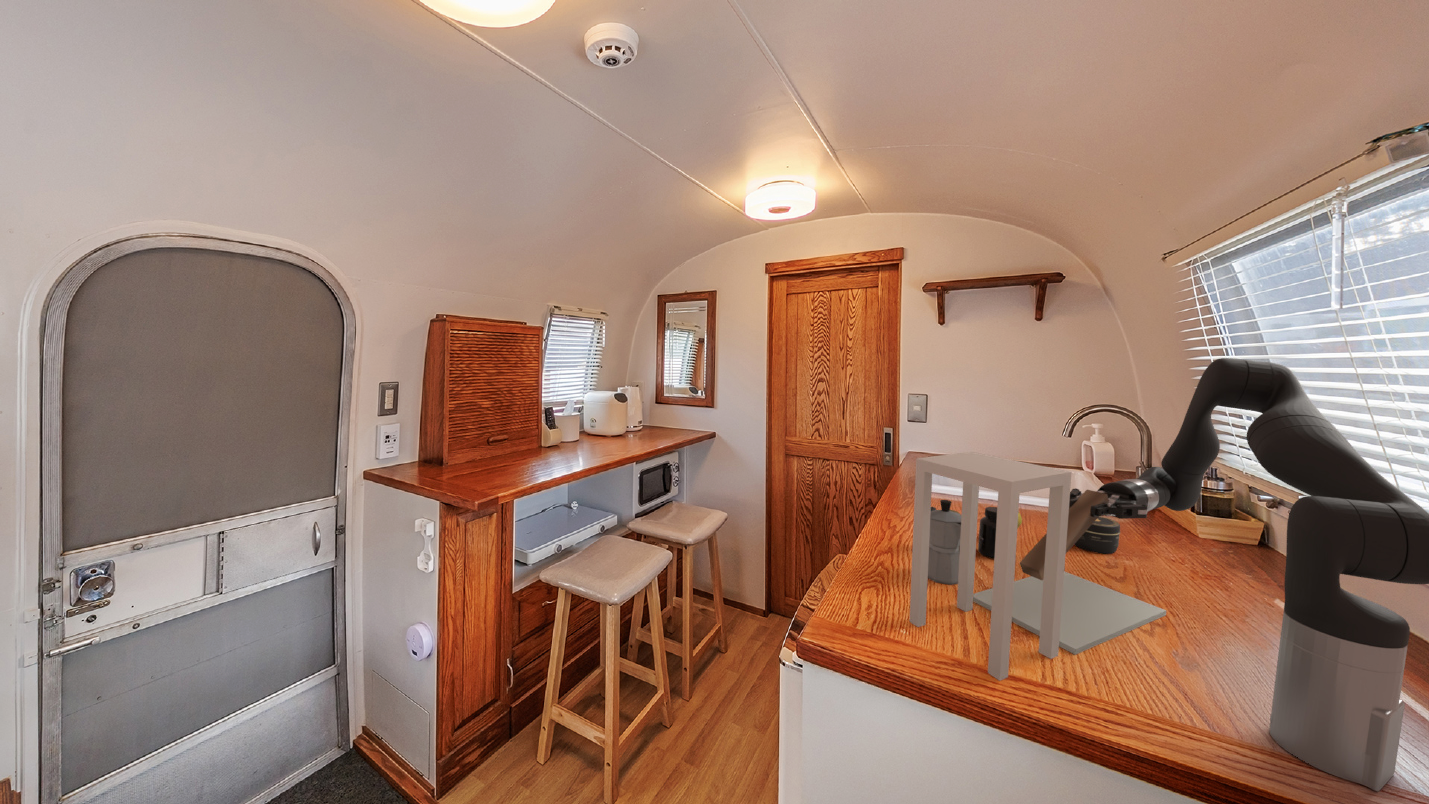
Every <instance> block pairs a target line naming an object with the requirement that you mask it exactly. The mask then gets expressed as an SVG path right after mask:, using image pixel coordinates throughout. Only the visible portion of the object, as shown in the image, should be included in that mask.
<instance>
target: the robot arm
mask: <svg viewBox="0 0 1429 804" xmlns="http://www.w3.org/2000/svg"><path fill="white" fill-rule="evenodd" d="M1192 395H1193V396H1192V398H1191V400H1190V402H1189V406H1188V407H1187V411H1186V413H1185V414H1184V415H1185V416H1184V418H1183V422H1182V424H1181V426H1180V429H1179V431H1178V434H1177V435H1176V438H1175V439H1174V441H1173V442H1172V444H1171V445H1170V447H1169V448H1168V450H1167V451H1166V453H1165V454H1164V456H1163V458H1162V459H1161V462H1160V465H1161V466H1151V467H1149V468H1147V469H1146V470H1144V471H1143V472H1142V473H1141V474H1140V475H1139V477H1136V478H1129V479H1128V478H1127V479H1121V480H1116V481H1113V482H1108V483H1105V484H1103V485H1101V486H1100V487H1099V488H1098V489H1097V490H1095V491H1096V492H1100V493H1104V494H1107V496H1108V499H1109V501H1108V502H1105V503H1104V504H1098V505H1093V506H1091V509H1090V512H1091V516H1092V517H1099V516H1101V517H1105V516H1106V517H1112V518H1113V517H1115V518H1117V519H1120V520H1121V519H1147V517H1148V516H1147V515H1148V512H1150V511H1152V510H1155V509H1159V508H1162V507H1166V508H1168V509H1169V510H1171V511H1174V512H1175V511H1176V512H1182V511H1186V510H1189V509H1191V508H1192V507H1194V506H1195V505H1196V504H1197V503H1198V500H1199V498H1200V496H1201V493H1202V485H1203V480H1204V476H1205V473H1206V472H1207V471H1208V470H1209V468H1210V467H1211V465H1212V464H1213V463H1214V462H1215V460H1216V459H1217V457H1218V455H1219V452H1220V447H1221V445H1220V440H1219V437H1218V434H1217V431H1216V429H1215V427H1214V423H1213V419H1212V413H1213V412H1214V410H1215V408H1216V407H1225V408H1231V409H1237V410H1238V409H1239V410H1245V411H1250V412H1251V411H1253V412H1258V413H1260V415H1259V416H1257V418H1255V419H1254V420H1253V421H1252V423H1251V424H1249V426H1248V429H1247V431H1246V436H1245V437H1246V441H1247V445H1248V447H1249V449H1250V450H1251V452H1252V453H1253V455H1254V456H1255V458H1256V460H1257V461H1258V462H1259V464H1260V466H1261V467H1262V468H1263V469H1264V470H1265V471H1266V472H1267V473H1268V474H1270V475H1271V476H1272V477H1273V478H1276V479H1277V480H1280V481H1281V482H1282V483H1284V484H1285V485H1287V486H1290V487H1292V488H1294V489H1296V490H1297V491H1300V492H1303V493H1305V494H1306V496H1302V497H1301V498H1299V499H1298V500H1296V501H1295V502H1294V504H1292V506H1291V508H1290V509H1289V510H1290V511H1289V514H1288V518H1287V523H1286V525H1287V526H1286V549H1285V550H1286V554H1285V569H1284V570H1285V572H1284V583H1283V584H1284V605H1283V606H1284V607H1283V614H1282V623H1281V628H1280V629H1281V630H1280V637H1279V638H1280V640H1279V645H1278V646H1279V647H1278V648H1279V649H1278V655H1277V663H1276V664H1277V665H1276V671H1275V677H1274V679H1275V680H1274V686H1273V687H1274V688H1273V694H1272V703H1271V713H1270V716H1269V717H1270V718H1269V720H1270V721H1269V729H1268V730H1269V734H1270V736H1271V738H1272V739H1273V740H1274V741H1275V742H1276V744H1278V745H1279V746H1280V747H1281V748H1283V750H1284V751H1287V752H1289V753H1290V754H1291V755H1292V754H1293V756H1294V757H1295V756H1296V758H1297V757H1298V758H1297V759H1299V760H1300V761H1302V760H1304V761H1305V762H1304V761H1303V762H1304V763H1306V764H1308V763H1309V764H1308V765H1311V766H1312V767H1314V768H1316V769H1317V770H1320V771H1322V772H1324V773H1327V774H1330V775H1333V776H1335V777H1338V778H1341V779H1343V780H1346V781H1349V782H1353V783H1357V784H1360V785H1363V786H1365V787H1368V788H1369V789H1371V790H1373V791H1375V792H1380V791H1381V790H1382V789H1383V787H1384V786H1385V785H1386V784H1387V783H1388V782H1389V780H1390V779H1391V778H1392V777H1393V776H1394V775H1395V772H1396V771H1395V770H1396V767H1397V759H1398V752H1399V747H1400V746H1399V745H1400V740H1401V739H1400V737H1401V732H1402V725H1403V718H1404V713H1405V705H1406V704H1405V703H1406V702H1405V701H1404V700H1402V699H1401V693H1402V686H1403V679H1404V671H1405V665H1406V660H1407V659H1406V658H1407V653H1408V647H1409V646H1408V645H1409V641H1410V634H1411V632H1410V631H1411V629H1410V626H1409V622H1408V621H1407V620H1406V618H1404V617H1403V616H1402V615H1400V614H1399V613H1397V612H1396V611H1393V610H1391V609H1390V608H1388V607H1385V606H1383V605H1381V604H1379V603H1376V602H1374V601H1372V600H1370V599H1367V598H1364V597H1362V596H1359V595H1357V594H1355V593H1351V592H1349V591H1348V590H1345V589H1344V588H1342V587H1341V583H1340V582H1341V579H1340V576H1341V575H1344V576H1345V575H1346V576H1351V577H1358V578H1365V579H1369V580H1370V579H1371V580H1376V581H1381V582H1383V581H1384V582H1388V583H1389V582H1390V583H1397V584H1406V585H1429V512H1428V511H1427V510H1425V509H1424V508H1423V507H1422V506H1421V505H1420V504H1418V503H1417V502H1416V501H1414V499H1411V497H1409V496H1408V495H1407V494H1405V493H1404V492H1403V491H1401V490H1400V489H1399V488H1398V487H1396V486H1395V485H1394V484H1393V483H1391V482H1390V481H1388V480H1387V479H1386V478H1385V477H1384V476H1383V475H1381V474H1380V473H1379V472H1378V471H1377V470H1376V469H1375V467H1373V466H1372V465H1370V463H1369V462H1368V461H1367V460H1366V459H1364V458H1363V457H1362V456H1361V455H1360V453H1358V451H1356V449H1355V448H1354V447H1353V446H1352V444H1351V443H1350V442H1349V441H1348V439H1347V438H1346V437H1345V436H1344V434H1342V433H1341V432H1340V431H1339V430H1338V428H1336V426H1335V425H1333V424H1332V423H1331V422H1330V421H1329V420H1328V419H1327V418H1326V417H1325V416H1324V415H1323V414H1322V413H1321V411H1320V409H1318V408H1317V406H1316V405H1315V404H1314V403H1313V401H1312V400H1311V399H1310V397H1309V396H1308V394H1307V393H1306V392H1305V389H1304V388H1303V386H1302V384H1301V382H1300V381H1299V379H1298V378H1297V376H1296V375H1295V374H1294V372H1293V370H1291V368H1289V367H1287V366H1285V365H1283V364H1281V363H1278V362H1276V363H1275V362H1271V361H1260V360H1253V359H1252V360H1251V359H1242V358H1229V357H1228V358H1227V357H1222V358H1221V357H1220V358H1217V359H1215V360H1213V361H1212V362H1211V363H1210V364H1209V365H1208V366H1207V367H1206V368H1205V370H1204V372H1203V373H1202V375H1201V377H1200V379H1199V381H1198V383H1197V385H1196V388H1195V391H1194V392H1193V394H1192ZM1083 493H1084V492H1083ZM1083 493H1082V490H1080V489H1079V488H1072V489H1070V500H1069V508H1070V507H1072V506H1073V505H1074V503H1075V502H1076V501H1077V500H1078V499H1079V497H1080V496H1081V495H1082V494H1083Z"/></svg>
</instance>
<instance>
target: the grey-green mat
mask: <svg viewBox="0 0 1429 804" xmlns="http://www.w3.org/2000/svg"><path fill="white" fill-rule="evenodd" d="M1043 580H1044V579H1043ZM1043 580H1039V579H1037V578H1035V577H1032V576H1027V577H1025V578H1021V579H1018V580H1014V591H1013V607H1012V623H1014V624H1015V625H1017V626H1020V627H1021V628H1023V629H1025V630H1027V631H1029V632H1031V633H1033V634H1035V635H1036V636H1039V637H1040V623H1041V609H1042V594H1043ZM992 592H993V587H991V588H988V589H985V590H982V591H978V592H975V593H974V592H973V603H974V604H977V605H979V606H980V607H983V608H985V609H987V610H988V611H991V609H992ZM1166 616H1167V610H1166V609H1164V608H1161V607H1158V606H1156V605H1154V604H1150V603H1148V602H1145V601H1143V600H1140V599H1138V598H1135V597H1133V596H1131V595H1127V594H1125V593H1123V592H1119V591H1117V590H1115V589H1111V588H1109V587H1106V586H1103V585H1101V584H1099V583H1095V582H1093V581H1091V580H1088V579H1085V578H1083V577H1080V576H1078V575H1075V574H1072V573H1069V572H1067V571H1065V570H1064V582H1063V596H1062V609H1061V623H1060V637H1059V648H1061V649H1064V650H1065V651H1067V652H1069V653H1071V654H1072V655H1074V656H1075V655H1078V654H1080V653H1083V652H1084V651H1087V650H1089V649H1091V648H1094V647H1096V646H1098V645H1101V644H1103V643H1106V642H1108V641H1111V640H1113V639H1115V638H1117V637H1119V636H1122V635H1124V634H1127V633H1128V632H1130V631H1133V630H1135V629H1138V628H1141V627H1142V626H1144V625H1147V624H1149V623H1151V622H1153V621H1156V620H1158V619H1160V618H1163V617H1166Z"/></svg>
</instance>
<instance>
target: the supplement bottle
mask: <svg viewBox="0 0 1429 804" xmlns="http://www.w3.org/2000/svg"><path fill="white" fill-rule="evenodd" d="M996 523H997V506H986V507H985V509H984V516H983V517H981V518H980V520H979V529H978V530H979V531H978V541H977V542H978V545H977V550H978V552H979V554H980V555H982V556H983V557H985V556H986V558H989V559H993V560H994V557H995V540H996Z"/></svg>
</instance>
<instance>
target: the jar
mask: <svg viewBox="0 0 1429 804" xmlns="http://www.w3.org/2000/svg"><path fill="white" fill-rule="evenodd" d="M1120 535H1121V525H1120V523H1119V522H1118V521H1116V520H1114V519H1112V518H1108V517H1105V516H1099V517H1098V518H1097V519H1096V520H1095V521H1094V522H1093V524H1092V525H1091V526H1090V527H1089V528H1088V529H1087V530H1086V532H1085V533H1084V534H1083V535H1082V536H1081V537H1080V538H1079V539H1078V541H1077V542H1076V543H1075V544H1074V545H1073V546H1075V547H1076V548H1079V549H1080V550H1084V551H1085V552H1086V551H1087V552H1089V553H1090V552H1091V553H1095V554H1100V553H1101V555H1111V554H1114V553H1115V552H1117V550H1118V548H1119V544H1120V542H1119V541H1120Z"/></svg>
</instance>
